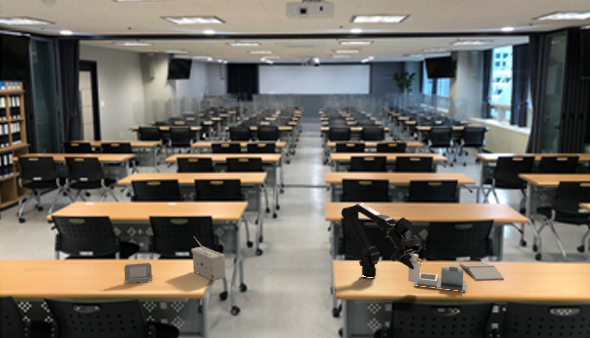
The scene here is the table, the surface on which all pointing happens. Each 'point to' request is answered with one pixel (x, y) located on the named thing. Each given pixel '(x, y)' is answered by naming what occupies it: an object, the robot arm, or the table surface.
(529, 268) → the table surface
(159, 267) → the table surface
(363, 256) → the robot arm
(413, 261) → the white rounded upright piece
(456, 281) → the tray with square frame
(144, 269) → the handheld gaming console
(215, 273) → the stereo radio cassette player
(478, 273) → the gadget
